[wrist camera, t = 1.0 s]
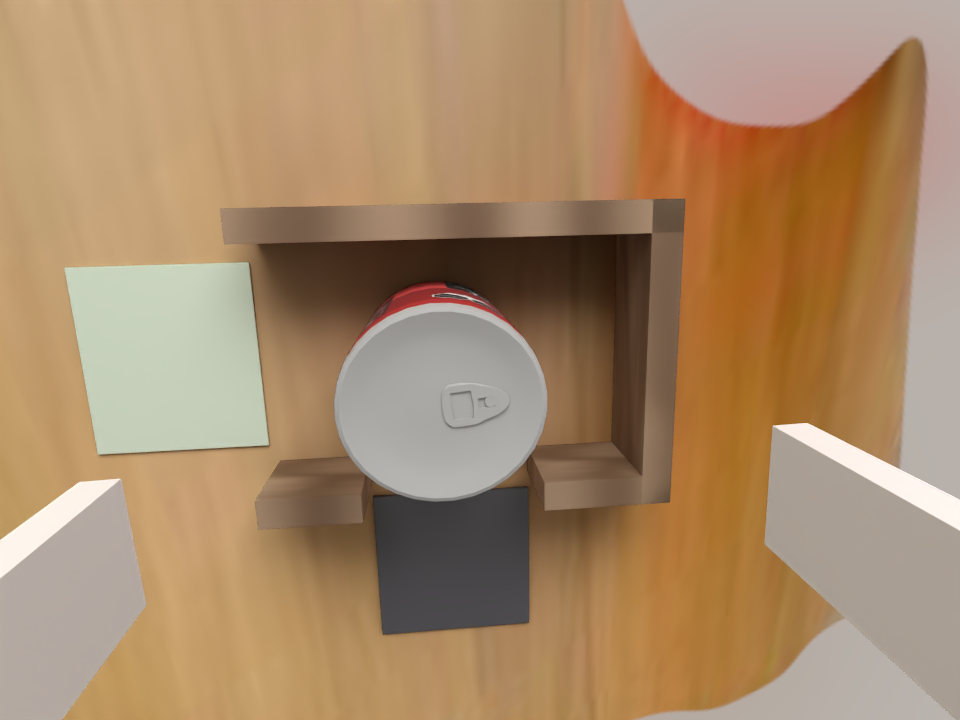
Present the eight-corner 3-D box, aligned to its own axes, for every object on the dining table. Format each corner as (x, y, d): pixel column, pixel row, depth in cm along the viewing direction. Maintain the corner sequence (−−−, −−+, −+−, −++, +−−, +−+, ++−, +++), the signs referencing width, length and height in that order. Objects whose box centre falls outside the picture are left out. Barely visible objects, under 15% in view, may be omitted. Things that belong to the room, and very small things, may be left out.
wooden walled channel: (283, 485, 33) (258, 529, 28) (253, 212, 30) (219, 208, 25) (635, 464, 35) (669, 502, 30) (645, 203, 31) (685, 198, 26)
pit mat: (383, 632, 35) (382, 634, 35) (373, 496, 33) (373, 497, 33) (528, 620, 36) (529, 622, 36) (527, 486, 34) (528, 488, 34)
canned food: (528, 383, 33) (577, 456, 22) (397, 436, 33) (384, 536, 22) (478, 255, 31) (505, 269, 20) (340, 312, 31) (295, 355, 20)
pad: (99, 453, 31) (97, 454, 31) (65, 267, 29) (64, 267, 29) (269, 444, 32) (268, 445, 32) (249, 262, 30) (248, 262, 30)
